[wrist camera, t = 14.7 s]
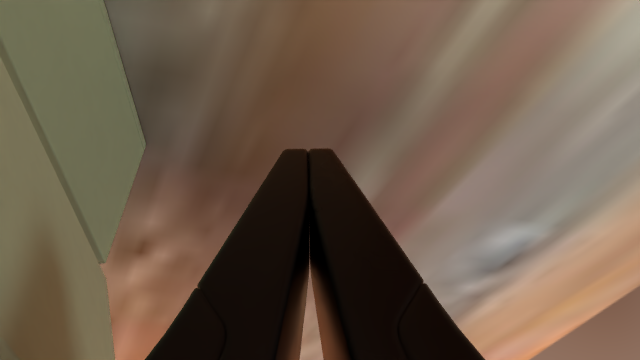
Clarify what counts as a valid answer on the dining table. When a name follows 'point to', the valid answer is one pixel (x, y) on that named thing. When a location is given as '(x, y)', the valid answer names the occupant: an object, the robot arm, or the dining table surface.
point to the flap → (44, 254)
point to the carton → (76, 105)
